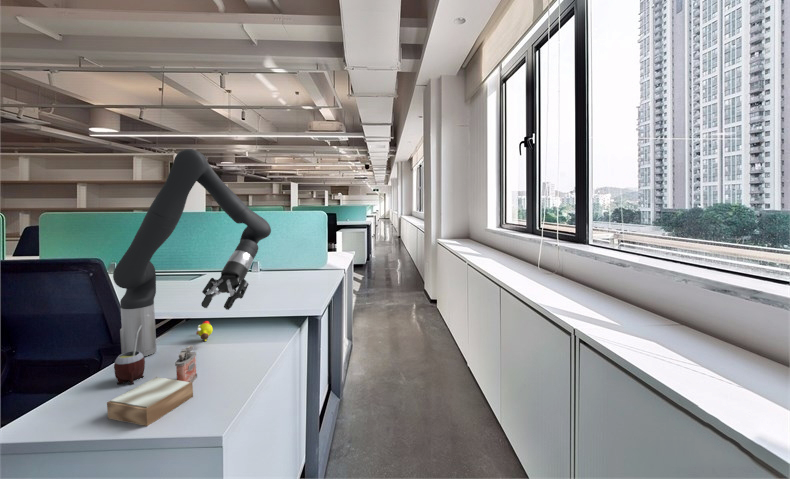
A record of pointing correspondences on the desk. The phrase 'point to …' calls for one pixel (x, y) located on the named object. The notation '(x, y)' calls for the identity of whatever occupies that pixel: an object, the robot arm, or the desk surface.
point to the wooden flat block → (149, 401)
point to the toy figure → (204, 330)
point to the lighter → (186, 365)
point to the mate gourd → (130, 365)
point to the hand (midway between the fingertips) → (214, 307)
